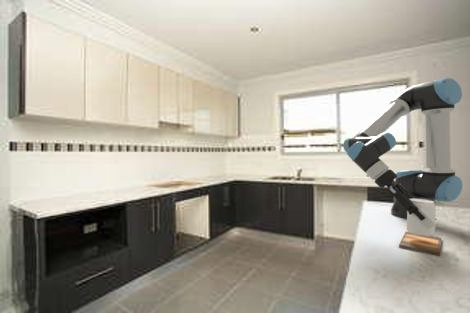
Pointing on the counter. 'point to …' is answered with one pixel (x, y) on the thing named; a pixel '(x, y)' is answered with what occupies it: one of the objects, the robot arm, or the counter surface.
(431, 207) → the beverage can
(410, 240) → the label board
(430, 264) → the counter surface
